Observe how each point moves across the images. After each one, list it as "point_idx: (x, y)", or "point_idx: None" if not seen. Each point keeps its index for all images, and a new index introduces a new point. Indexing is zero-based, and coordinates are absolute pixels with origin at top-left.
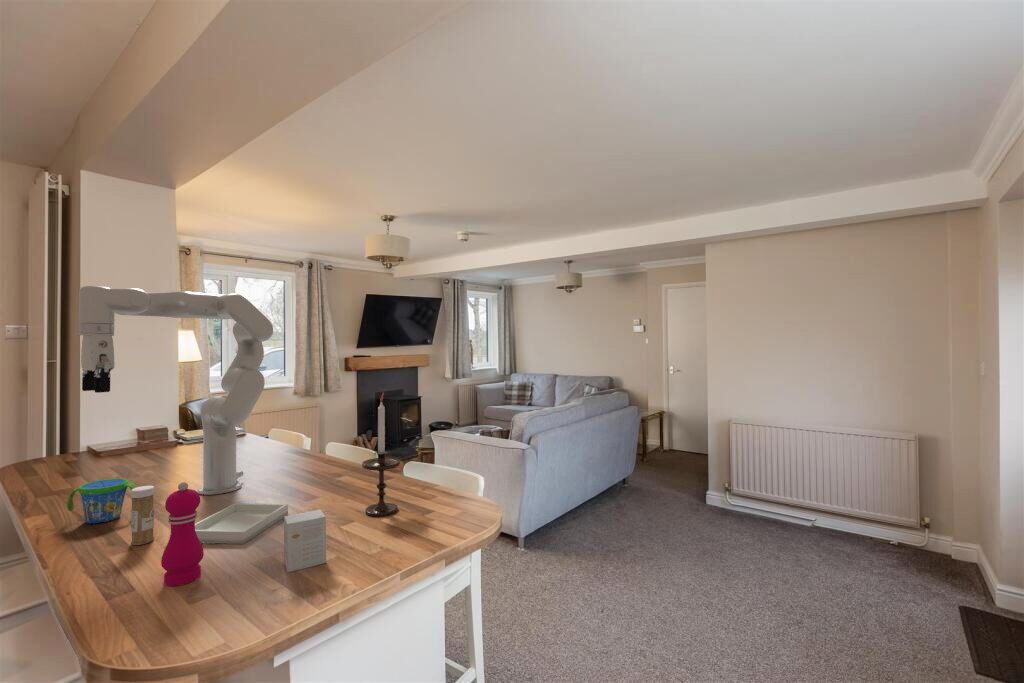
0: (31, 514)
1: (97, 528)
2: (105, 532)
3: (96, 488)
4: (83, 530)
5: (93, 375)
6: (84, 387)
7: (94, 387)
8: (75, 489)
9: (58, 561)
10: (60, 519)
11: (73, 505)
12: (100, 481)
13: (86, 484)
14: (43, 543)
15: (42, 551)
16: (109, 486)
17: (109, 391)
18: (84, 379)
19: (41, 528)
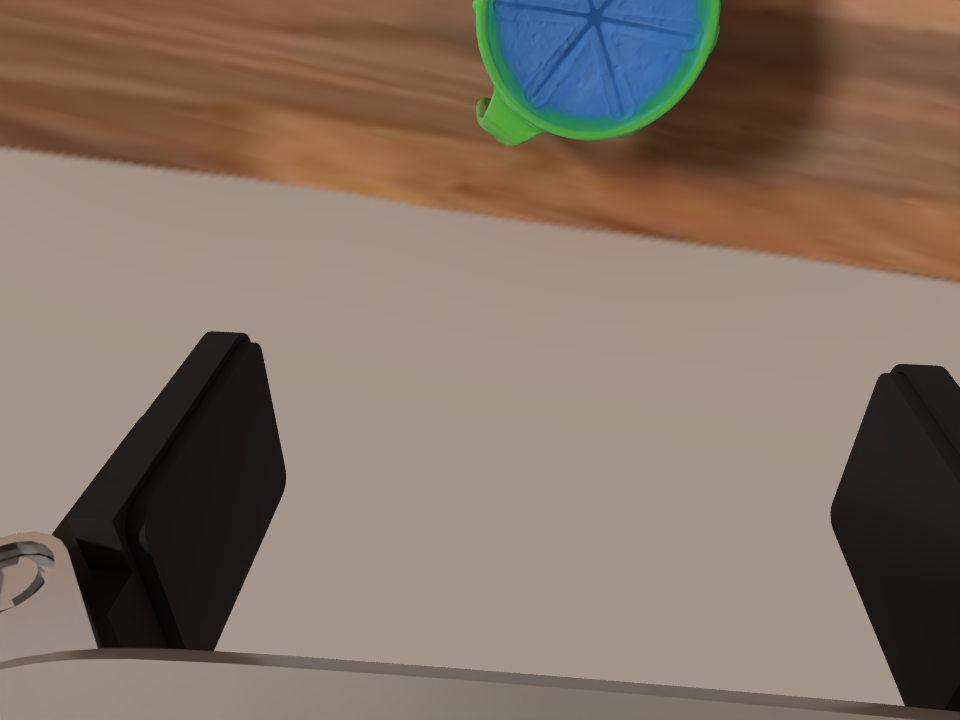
0: (211, 150)
1: None
2: (802, 52)
3: (685, 90)
4: None
5: (120, 600)
6: (265, 510)
7: (248, 394)
8: (531, 137)
9: (952, 253)
10: (402, 103)
11: (487, 103)
12: (497, 7)
13: (514, 86)
14: (691, 227)
15: (783, 252)
16: (657, 8)
17: (934, 367)
18: (211, 634)
19: (477, 182)
